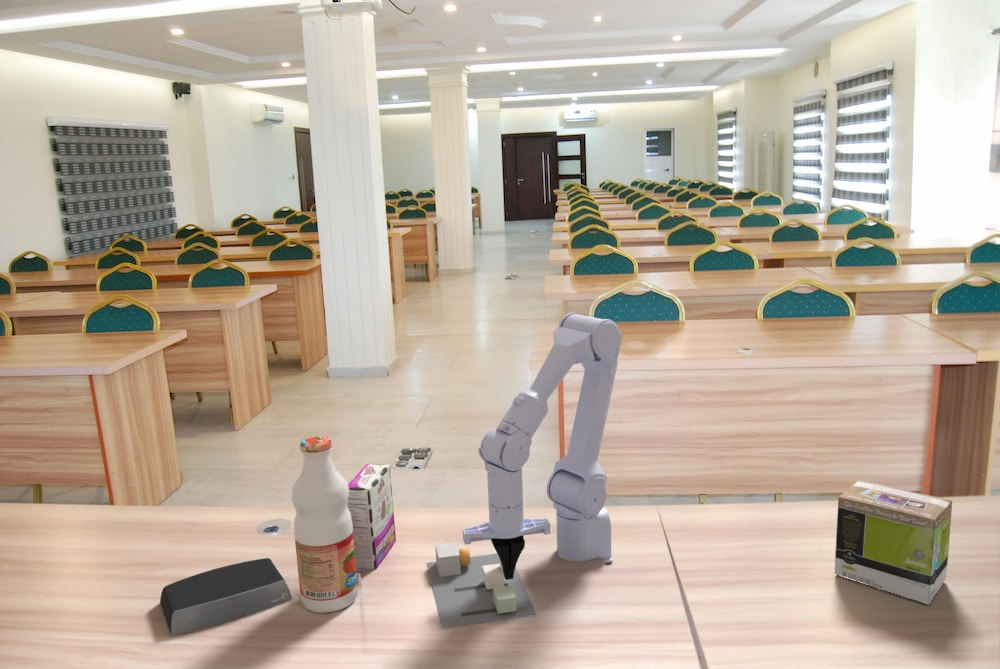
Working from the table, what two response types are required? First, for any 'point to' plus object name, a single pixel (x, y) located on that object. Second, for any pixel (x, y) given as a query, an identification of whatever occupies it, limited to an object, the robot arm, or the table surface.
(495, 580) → the off-white slider
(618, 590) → the table surface
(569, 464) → the robot arm
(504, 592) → the sage slider
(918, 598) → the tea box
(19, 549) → the table surface
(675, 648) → the table surface
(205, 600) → the external hard drive
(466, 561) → the orange button
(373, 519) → the candy bar box
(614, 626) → the table surface
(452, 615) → the control panel
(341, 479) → the fruit juice
